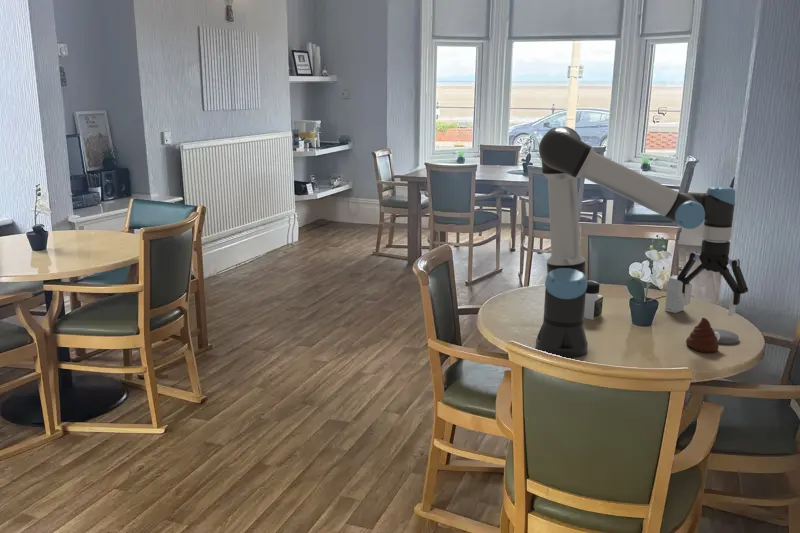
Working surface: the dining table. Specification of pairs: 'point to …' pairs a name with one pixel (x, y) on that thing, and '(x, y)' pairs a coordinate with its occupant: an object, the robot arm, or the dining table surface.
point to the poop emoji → (703, 338)
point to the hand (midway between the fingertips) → (708, 309)
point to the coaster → (726, 337)
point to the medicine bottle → (593, 301)
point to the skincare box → (674, 295)
